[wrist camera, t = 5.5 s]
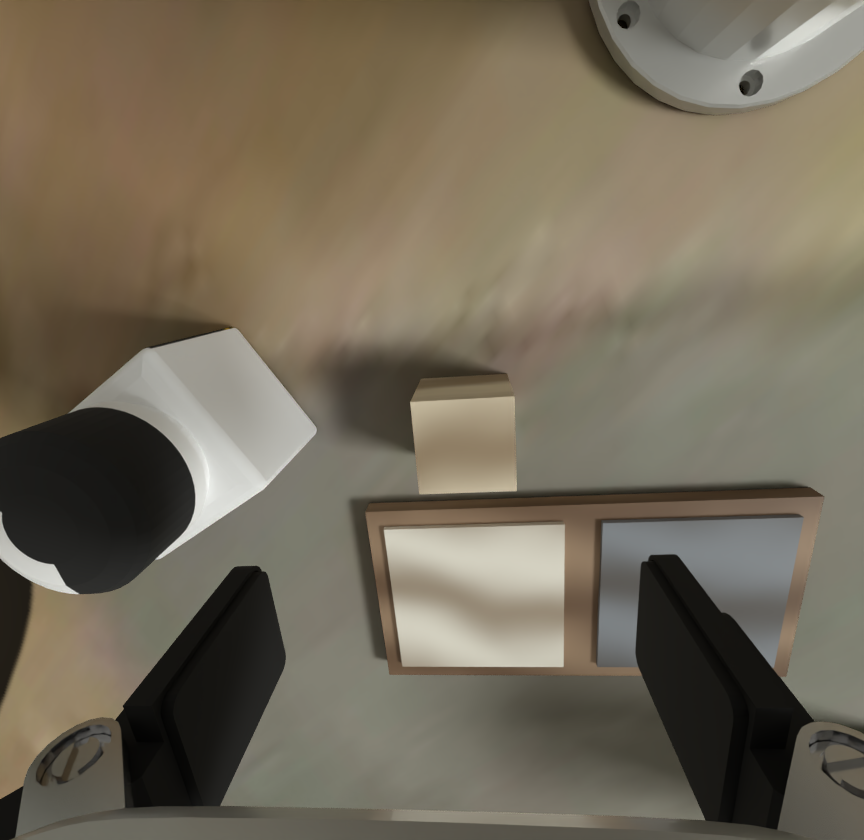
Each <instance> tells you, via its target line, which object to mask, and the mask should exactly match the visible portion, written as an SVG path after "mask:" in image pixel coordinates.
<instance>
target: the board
mask: <svg viewBox="0 0 864 840" xmlns="http://www.w3.org/2000/svg"><path fill="white" fill-rule="evenodd" d="M823 500H824V496H823V495H821V494H820V493H818V492H816V491H815V490H813V489H812V488H782V489H755V490H727V491H699V492H671V493H643V494H615V495H588V496H560V497H532V498H504V499H476V500H448V501H421V502H393V503H369V505H368V507H367V509H366V512H365V513H366V520H367V527H368V533H369V540H370V547H371V554H372V560H373V567H374V574H375V580H376V587H377V594H378V600H379V607H380V614H381V620H382V627H383V634H384V641H385V647H386V654H387V661H388V667H389V674H390V675H575V676H642V674H641V672H640V670H639V667H638V664H637V660H636V654H635V647H636V631H637V616H638V600H639V585H640V569H641V563H642V562H643V561H648V558H649V556H650V555H664V554H675V555H678V556H679V557H680V559H681V560H682V561H683V563H684V564H685V565H686V567H687V568H688V569H689V571H690V572H691V573H692V575H693V576H694V577H695V579H696V580H697V581H698V582H699V584H700V585H701V586H702V588H703V589H704V590H705V592H706V593H707V594H708V596H709V597H710V598H711V600H712V601H713V602H714V604H715V605H716V606H717V608H718V609H719V610H720V611H721V613H723V612H725V613H727V614H729V615H730V616H731V617H732V618H733V619H734V620H735V621H736V622H737V623H738V625H739V626H740V627H741V628H742V630H743V631H744V632H745V633H746V635H747V636H748V637H749V639H750V640H751V641H752V642H753V644H754V645H755V646H756V648H757V649H758V650H759V651H760V653H761V654H762V655H763V656H764V658H765V659H766V660H767V662H768V663H769V664H770V665H771V667H772V668H773V669H774V671H775V672H776V673H777V674H778V676H779V677H786V675H787V670H788V666H789V661H790V656H791V651H792V647H793V642H794V637H795V633H796V628H797V623H798V618H799V614H800V609H801V604H802V599H803V595H804V590H805V585H806V581H807V576H808V571H809V566H810V562H811V557H812V552H813V548H814V543H815V538H816V533H817V529H818V524H819V519H820V514H821V510H822V505H823Z"/></svg>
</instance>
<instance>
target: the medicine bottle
mask: <svg viewBox="0 0 864 840" xmlns="http://www.w3.org/2000/svg"><path fill="white" fill-rule="evenodd" d="M316 431H317V428H316V426H315V425H314V424H313V422H312V421H311V420H310V419H309V417H308V416H307V415H306V414H305V412H304V411H303V410H302V409H301V407H300V406H299V405H298V404H297V402H296V401H295V400H294V399H293V397H292V396H291V395H290V394H289V392H288V391H287V390H286V389H285V387H284V386H283V385H282V384H281V382H280V381H279V380H278V379H277V377H276V376H275V375H274V374H273V372H272V371H271V370H270V369H269V367H268V366H267V365H266V364H265V362H264V361H263V360H262V359H261V357H260V356H259V355H258V354H257V353H256V351H255V350H254V349H253V348H252V346H251V345H250V344H249V343H248V341H247V340H246V339H245V338H244V336H243V335H242V334H241V333H240V331H239V330H238V329H236V328H233V327H229V328H225V329H221V330H217V331H213V332H209V333H204V334H200V335H196V336H192V337H188V338H184V339H180V340H176V341H172V342H168V343H164V344H160V345H155V346H151V347H147V348H145V349H142V350H141V351H140V352H139V353H138V354H136V355H135V356H134V357H133V358H132V359H131V360H129V361H128V362H127V363H126V364H125V365H124V366H123V367H121V368H120V369H119V370H118V371H117V372H116V373H114V374H113V375H112V376H111V377H110V378H109V379H107V380H106V381H105V382H104V383H103V384H102V385H100V386H99V387H98V388H97V389H96V390H95V391H94V392H92V393H91V394H90V395H89V396H88V397H87V398H85V399H84V400H83V401H82V402H81V403H80V404H78V405H77V406H76V407H75V408H74V409H73V410H71V411H70V412H69V413H68V414H65V415H63V416H60V417H57V418H54V419H52V420H49V421H46V422H43V423H41V424H38V425H35V426H32V427H29V428H27V429H24V430H21V431H18V432H16V433H13V434H10V435H7V436H5V437H2V438H0V558H1V559H2V560H3V561H4V562H5V563H6V564H7V565H8V566H10V567H11V568H12V569H13V570H15V571H16V572H17V573H19V574H20V575H22V576H24V577H25V578H27V579H29V580H31V581H32V582H34V583H36V584H39V585H41V586H43V587H46V588H49V589H52V590H55V591H59V592H64V593H70V594H94V593H104V592H109V591H113V590H115V589H118V588H121V587H122V586H124V585H126V584H128V583H129V582H131V581H132V580H133V579H134V578H135V577H137V576H138V575H139V574H140V573H141V572H142V571H143V570H144V569H145V568H146V567H147V566H149V565H150V564H151V563H152V562H153V561H154V560H155V559H156V560H157V559H160V558H162V557H164V556H165V555H167V554H168V553H170V552H171V551H173V550H174V549H176V548H177V547H179V546H180V545H182V544H183V543H185V542H186V541H188V540H189V539H191V538H192V537H193V536H195V535H196V534H198V533H199V532H201V531H202V530H204V529H205V528H207V527H208V526H210V525H211V524H213V523H214V522H216V521H217V520H219V519H220V518H222V517H223V516H225V515H226V514H228V513H229V512H231V511H232V510H234V509H235V508H237V507H238V506H240V505H241V504H242V503H244V502H245V501H247V500H248V499H250V498H251V497H253V496H254V495H256V494H257V493H259V492H260V491H262V490H263V489H264V488H265V487H266V486H267V485H268V484H269V483H270V482H271V481H272V480H273V479H274V478H275V477H276V476H277V475H278V474H279V472H280V471H281V470H282V469H283V468H284V467H285V466H286V465H287V464H288V463H289V462H290V461H291V460H292V459H293V458H294V457H295V455H296V454H297V453H298V452H299V451H300V450H301V449H302V448H303V447H304V446H305V445H306V444H307V443H308V442H309V441H310V439H311V438H312V437H313V436H314V435H315V434H316Z"/></svg>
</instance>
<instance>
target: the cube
mask: <svg viewBox="0 0 864 840" xmlns="http://www.w3.org/2000/svg"><path fill="white" fill-rule="evenodd" d="M410 405H411V415H412V425H413V435H414V445H415V455H416V465H417V475H418V485H419V494H443V493H473V492H504V491H517V480H516V439H515V398H514V393H513V390H512V387H511V384H510V381H509V378H508V375H507V374H491V375H475V376H458V377H442V378H425V379H421V380H420V382H419V384H418V386H417V388H416V391H415V393H414V395H413V397H412V399H411V401H410Z"/></svg>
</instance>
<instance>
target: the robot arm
mask: <svg viewBox="0 0 864 840" xmlns="http://www.w3.org/2000/svg"><path fill="white" fill-rule="evenodd" d="M589 4H590V7H591V10H592V13H593V16H594V19H595V22H596V25H597V28H598V31H599V34H600V36H601V38H602V39H603V41H604V43H605V45H606V46H607V48H608V50H609V52H610V54H611V55H612V57H613V59H614V61H615V62H616V63H617V64H618V66H619V67H620V68H621V69H622V70H623V71H624V72H625V73H626V75H627V76H628V77H629V78H630V79H631V80H632V81H633V82H634V84H636V85H637V86H639V87H640V88H641V89H643V90H644V91H646V92H647V93H648V94H650V95H651V96H653V97H654V98H656V99H657V100H659V101H661V102H664V103H666V104H669V105H671V106H674V107H676V108H679V109H681V110H684V111H689V112H696V113H702V114H709V115H723V114H737V113H746V112H749V111H753V110H757V109H760V108H764V107H768V106H772V105H775V104H777V103H779V102H781V101H783V100H786V99H788V98H790V97H792V96H794V95H796V94H798V93H800V92H803V91H805V90H807V89H808V88H810V87H812V86H813V85H815V84H817V83H819V82H820V81H822V80H824V79H825V78H827V77H829V76H831V75H832V74H834V73H836V72H837V71H839V70H840V69H841V68H842V67H844V66H845V65H846V64H847V63H849V62H850V61H851V60H852V59H854V58H855V57H856V56H857V55H859V54H860V53H861V52H862V51H864V0H589ZM619 20H624V21H625V22H626V23H627V29H624V28H621V27H620V26H619V25H618V23H617V21H619ZM739 85H741V86H742V87H743V88H744V93H743V94H742V93H741V92H740V89H739ZM635 654H636V660H637V664H638V667H639V670H640V672H641V674H642V677H643V679H644V681H645V683H646V686H647V688H648V690H649V693H650V695H651V697H652V699H653V702H654V704H655V706H656V708H657V711H658V713H659V715H660V717H661V720H662V722H663V724H664V727H665V729H666V731H667V733H668V736H669V738H670V740H671V742H672V745H673V747H674V749H675V752H676V754H677V756H678V758H679V761H680V763H681V765H682V767H683V770H684V772H685V774H686V777H687V779H688V781H689V783H690V786H691V788H692V790H693V792H694V795H695V797H696V799H697V802H698V804H699V806H700V808H701V811H702V813H703V815H704V817H705V820H706V821H705V820H686V819H666V818H646V817H627V816H600V815H568V814H537V813H505V812H470V811H432V810H391V809H350V808H298V807H244V806H220V804H221V802H222V800H223V798H224V796H225V794H226V792H227V789H228V787H229V785H230V783H231V781H232V779H233V777H234V774H235V772H236V770H237V768H238V766H239V764H240V762H241V759H242V757H243V755H244V753H245V751H246V749H247V747H248V744H249V742H250V740H251V738H252V736H253V734H254V732H255V729H256V727H257V725H258V723H259V721H260V719H261V717H262V714H263V712H264V710H265V708H266V706H267V704H268V702H269V699H270V697H271V695H272V693H273V691H274V689H275V686H276V684H277V682H278V680H279V678H280V676H281V674H282V671H283V669H284V666H285V660H286V655H285V649H284V645H283V641H282V636H281V632H280V627H279V623H278V619H277V614H276V610H275V605H274V601H273V597H272V592H271V588H270V583H269V579H268V575H267V573H266V572H262V571H261V569H260V567H258V566H237V567H234V568H233V569H232V570H231V571H230V573H229V574H228V575H227V576H226V578H225V579H224V580H223V581H222V583H221V584H220V585H219V586H218V588H217V589H216V590H215V591H214V593H213V594H212V595H211V596H210V598H209V599H208V600H207V601H206V603H205V604H204V605H203V606H202V608H201V609H200V610H199V611H198V613H197V614H196V615H195V616H194V618H193V619H192V620H191V621H190V623H189V624H188V625H187V626H186V628H185V629H184V630H183V631H182V633H181V634H180V635H179V636H178V638H177V639H176V640H175V641H174V643H173V644H172V645H171V646H170V648H169V649H168V650H167V651H166V653H165V654H164V655H163V656H162V658H161V659H160V660H159V661H158V663H157V664H156V665H155V666H154V668H153V669H152V670H151V671H150V673H149V674H148V675H147V676H146V678H145V679H144V680H143V681H142V683H141V684H140V685H139V686H138V688H137V689H136V690H135V691H134V693H133V694H132V695H131V696H130V698H129V699H128V700H127V701H126V703H125V704H124V705H123V708H124V710H123V711H122V712H121V713H120V715H119V716H118V717H117V718H116V720H114V719H112V718H104V717H102V718H96V719H91V720H88V721H86V722H83V723H81V724H78V725H76V726H74V727H73V728H71V729H69V730H67V731H66V732H64V733H62V734H61V735H60V736H58V737H57V738H56V739H55V740H53V741H52V742H51V743H49V744H48V745H47V746H46V747H45V748H44V749H43V750H42V751H41V752H40V753H39V755H38V756H37V757H36V758H35V760H34V761H33V763H32V764H31V766H30V767H29V769H28V771H27V774H26V777H25V780H24V786H23V787H21V788H19V789H17V790H16V791H14V792H12V793H10V794H9V795H7V796H5V797H3V798H2V799H0V840H864V734H863V733H861V732H859V731H857V730H854V729H851V728H849V727H846V726H843V725H841V724H835V723H830V722H814V720H813V719H812V718H811V717H810V715H809V714H808V713H807V711H806V710H805V709H804V708H803V706H802V705H801V704H800V703H799V701H798V700H797V699H796V697H795V696H794V695H793V694H792V692H791V691H790V690H789V688H788V687H787V686H786V685H785V683H784V682H783V681H782V679H781V678H780V677H779V676H778V674H777V673H776V672H775V671H774V669H773V668H772V667H771V665H770V664H769V663H768V662H767V660H766V659H765V658H764V656H763V655H762V654H761V653H760V651H759V650H758V649H757V648H756V646H755V645H754V644H753V642H752V641H751V640H750V639H749V637H748V636H747V635H746V633H745V632H744V631H743V630H742V628H741V627H740V626H739V625H738V623H737V622H736V621H735V620H734V619H733V618H732V617H731V616H730V615H729V614H727V613H725V612H723V613H721V611H720V610H719V609H718V608H717V606H716V605H715V604H714V602H713V601H712V600H711V598H710V597H709V596H708V594H707V593H706V592H705V590H704V589H703V588H702V586H701V585H700V584H699V582H698V581H697V580H696V579H695V577H694V576H693V575H692V573H691V572H690V571H689V569H688V568H687V567H686V565H685V564H684V563H683V561H682V560H681V559H680V557H679V556H678V555H675V554H664V555H650V556H649V558H648V561H643V562H642V563H641V569H640V585H639V600H638V616H637V631H636V647H635Z"/></svg>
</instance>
